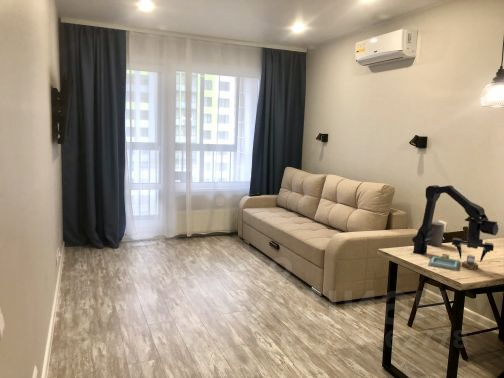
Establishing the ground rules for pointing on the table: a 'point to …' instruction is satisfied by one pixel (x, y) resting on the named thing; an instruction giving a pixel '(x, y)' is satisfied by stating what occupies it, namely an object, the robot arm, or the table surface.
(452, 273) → the table surface
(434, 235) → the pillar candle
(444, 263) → the carrier plate
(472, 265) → the planet gear
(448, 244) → the table surface
